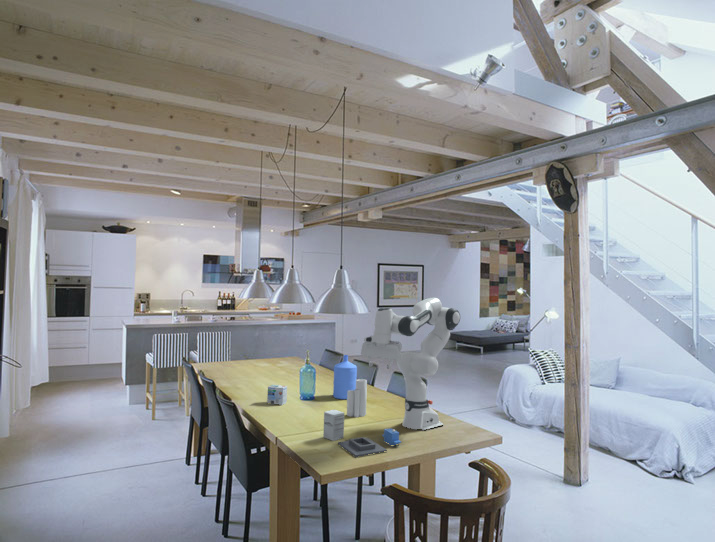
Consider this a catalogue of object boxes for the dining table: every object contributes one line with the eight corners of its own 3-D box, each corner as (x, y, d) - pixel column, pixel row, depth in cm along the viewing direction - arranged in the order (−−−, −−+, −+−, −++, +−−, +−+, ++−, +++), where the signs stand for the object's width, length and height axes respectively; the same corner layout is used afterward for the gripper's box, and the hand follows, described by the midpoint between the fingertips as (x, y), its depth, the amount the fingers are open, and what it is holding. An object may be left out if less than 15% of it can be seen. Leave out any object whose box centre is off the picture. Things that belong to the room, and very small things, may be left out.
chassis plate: (367, 439, 218) (367, 433, 218) (387, 452, 202) (387, 445, 202) (337, 444, 211) (337, 438, 211) (355, 457, 195) (355, 450, 195)
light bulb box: (266, 404, 280) (267, 386, 280) (271, 401, 286) (271, 384, 286) (282, 405, 277) (283, 387, 277) (287, 402, 284) (287, 385, 284)
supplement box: (322, 437, 220) (323, 411, 220) (334, 434, 225) (334, 409, 225) (332, 441, 214) (333, 414, 215) (344, 438, 219) (344, 412, 220)
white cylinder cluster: (362, 412, 265) (363, 378, 266) (368, 416, 259) (369, 381, 260) (345, 414, 260) (346, 380, 261) (350, 418, 254) (351, 382, 255)
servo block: (388, 439, 220) (388, 424, 220) (401, 447, 210) (402, 431, 210) (381, 440, 218) (381, 425, 219) (394, 448, 208) (394, 432, 208)
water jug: (355, 400, 295) (357, 357, 296) (332, 399, 295) (333, 356, 296) (356, 394, 310) (357, 353, 311) (333, 393, 311) (335, 353, 312)
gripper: (403, 341, 225) (401, 369, 224) (365, 337, 233) (362, 364, 231) (400, 342, 220) (398, 370, 218) (361, 337, 227) (358, 365, 225)
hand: (379, 367), depth 225 cm, fingers open, 8 cm apart
